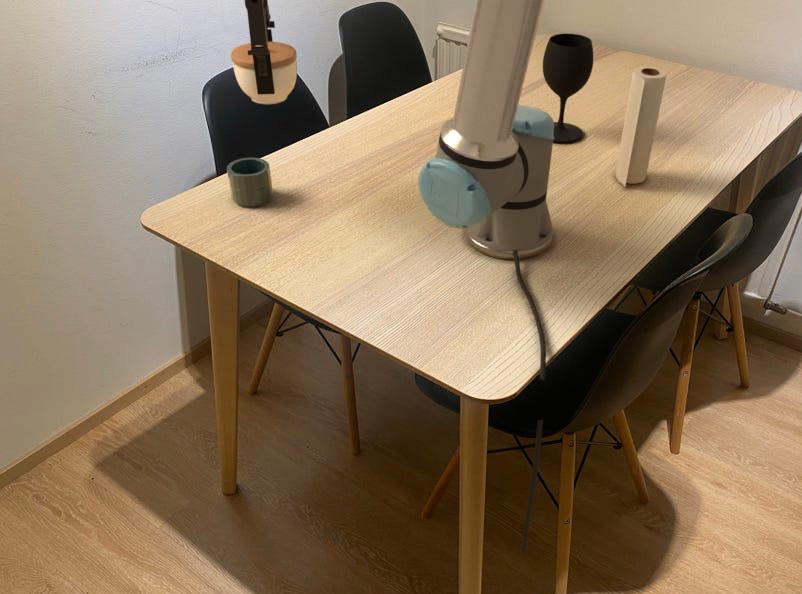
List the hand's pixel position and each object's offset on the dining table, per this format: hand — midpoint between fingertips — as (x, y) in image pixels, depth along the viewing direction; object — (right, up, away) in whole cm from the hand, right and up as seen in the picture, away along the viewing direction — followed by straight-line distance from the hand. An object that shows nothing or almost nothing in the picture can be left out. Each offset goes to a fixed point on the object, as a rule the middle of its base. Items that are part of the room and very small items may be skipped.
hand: (267, 80), depth 131 cm
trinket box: (0, -2, +2) cm, 3 cm away
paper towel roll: (+67, -11, +24) cm, 72 cm away
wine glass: (+56, +10, +33) cm, 66 cm away
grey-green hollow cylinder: (-6, -17, +14) cm, 23 cm away
